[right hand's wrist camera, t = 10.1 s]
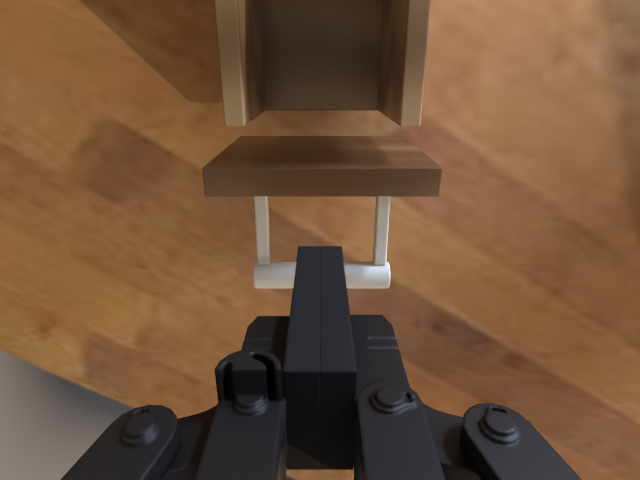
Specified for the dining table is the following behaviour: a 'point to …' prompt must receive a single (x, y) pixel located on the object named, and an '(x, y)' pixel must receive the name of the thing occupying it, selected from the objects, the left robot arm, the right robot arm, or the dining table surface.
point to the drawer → (322, 94)
